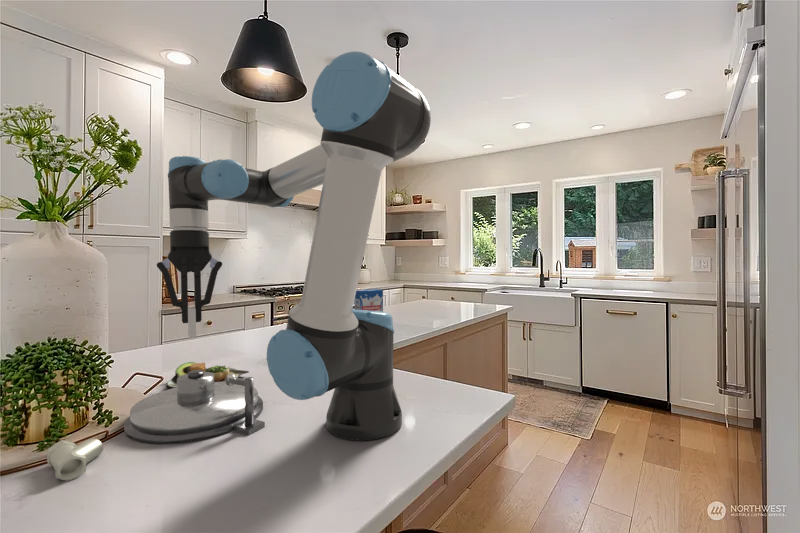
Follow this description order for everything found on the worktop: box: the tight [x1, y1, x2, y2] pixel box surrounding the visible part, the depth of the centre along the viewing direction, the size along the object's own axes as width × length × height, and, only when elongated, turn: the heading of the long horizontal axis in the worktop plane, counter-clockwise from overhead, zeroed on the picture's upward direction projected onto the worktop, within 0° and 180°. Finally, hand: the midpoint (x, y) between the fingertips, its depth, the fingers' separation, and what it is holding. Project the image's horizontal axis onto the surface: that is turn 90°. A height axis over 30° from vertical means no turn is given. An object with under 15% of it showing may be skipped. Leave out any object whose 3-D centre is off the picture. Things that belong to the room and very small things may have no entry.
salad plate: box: [166, 361, 250, 390], centre depth 108 cm, size 19×18×5 cm
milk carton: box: [353, 288, 384, 312], centre depth 160 cm, size 10×6×20 cm, turn 119°
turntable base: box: [123, 395, 264, 445], centre depth 85 cm, size 26×26×1 cm
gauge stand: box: [225, 373, 266, 436], centre depth 79 cm, size 8×4×10 cm, turn 64°
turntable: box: [129, 362, 259, 435], centre depth 84 cm, size 24×24×7 cm
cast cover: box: [177, 370, 214, 406], centre depth 84 cm, size 7×7×6 cm
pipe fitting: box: [46, 437, 104, 482], centre depth 64 cm, size 8×4×7 cm
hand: (192, 337), depth 87 cm, fingers closed
